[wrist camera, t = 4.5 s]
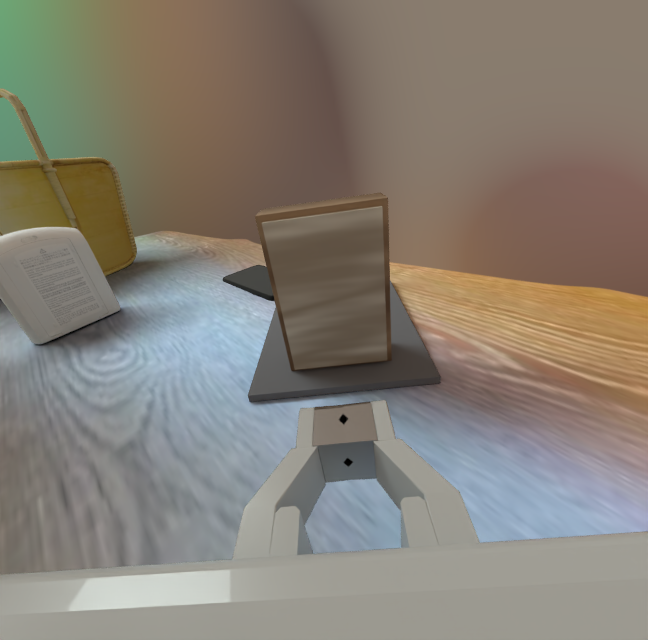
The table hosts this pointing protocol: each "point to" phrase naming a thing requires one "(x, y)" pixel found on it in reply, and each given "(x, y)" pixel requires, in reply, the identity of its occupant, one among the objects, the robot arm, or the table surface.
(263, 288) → the smartphone
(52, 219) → the picnic basket
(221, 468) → the table surface
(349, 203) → the wooden block
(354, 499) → the table surface
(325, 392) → the mat
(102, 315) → the photo printer
